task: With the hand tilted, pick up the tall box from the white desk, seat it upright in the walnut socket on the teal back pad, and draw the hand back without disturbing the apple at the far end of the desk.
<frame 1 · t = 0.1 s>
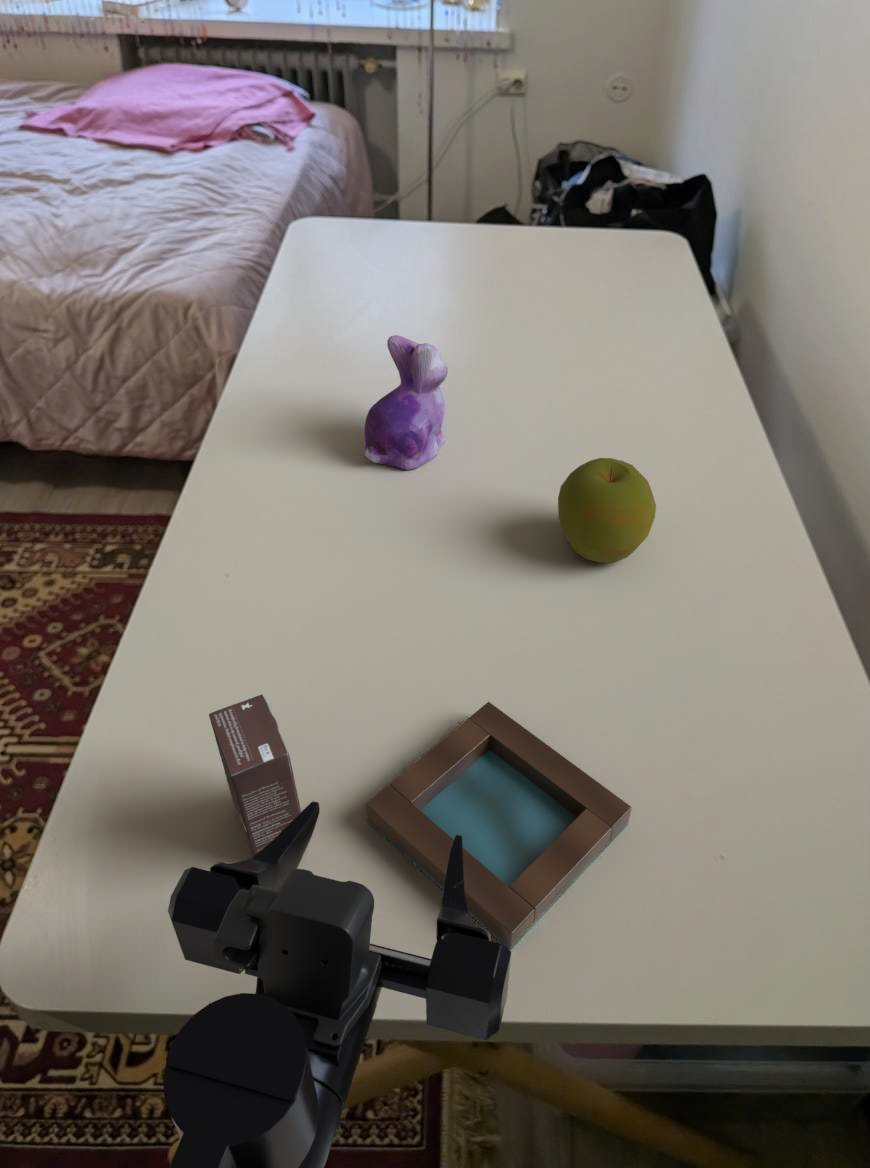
hand: (386, 821, 59), 14 cm above the table, tool horizontal, fingers open, 9 cm apart
box: (269, 829, 74), on the table
apple: (600, 548, 101), on the table
socket: (497, 822, 75), on the table
figurine: (407, 448, 114), on the table
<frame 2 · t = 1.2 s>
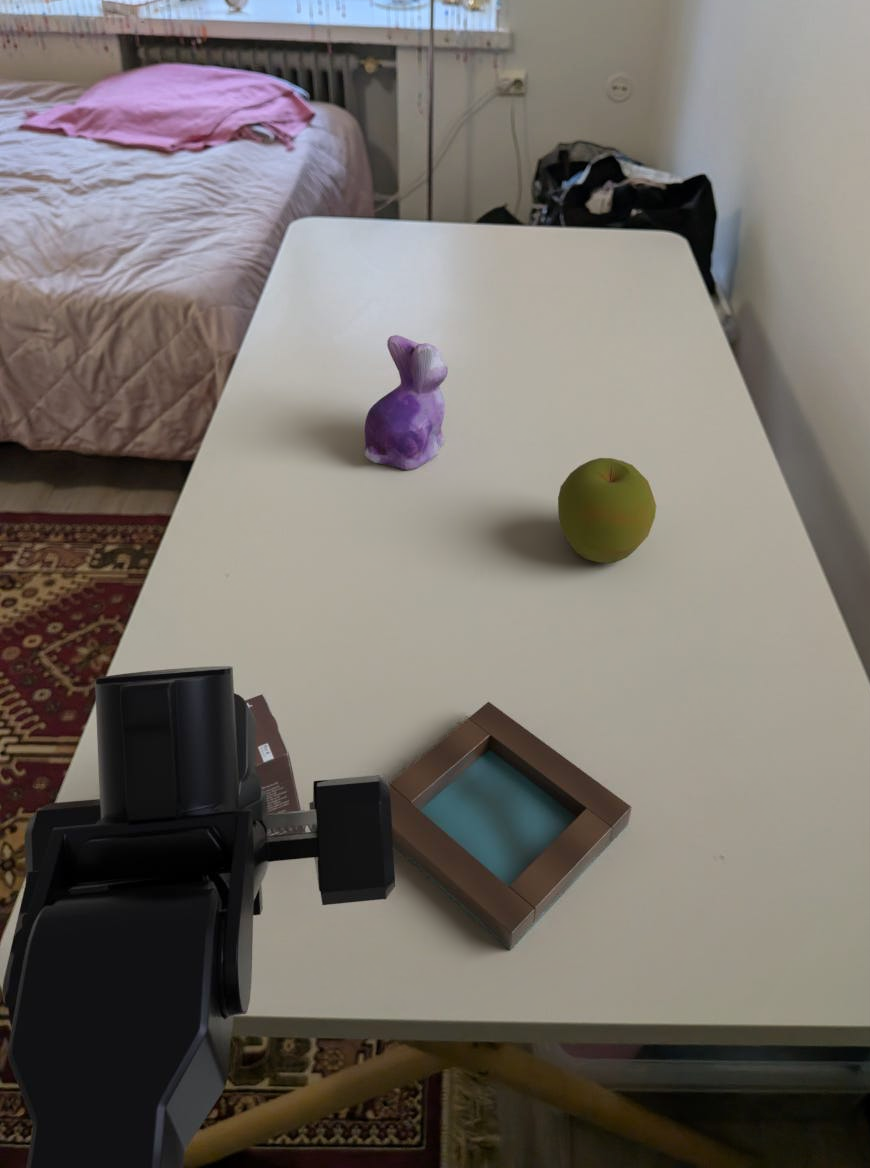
hand: (239, 816, 59), 14 cm above the table, tool tilted 45°, fingers open, 9 cm apart
nothing on the table moved.
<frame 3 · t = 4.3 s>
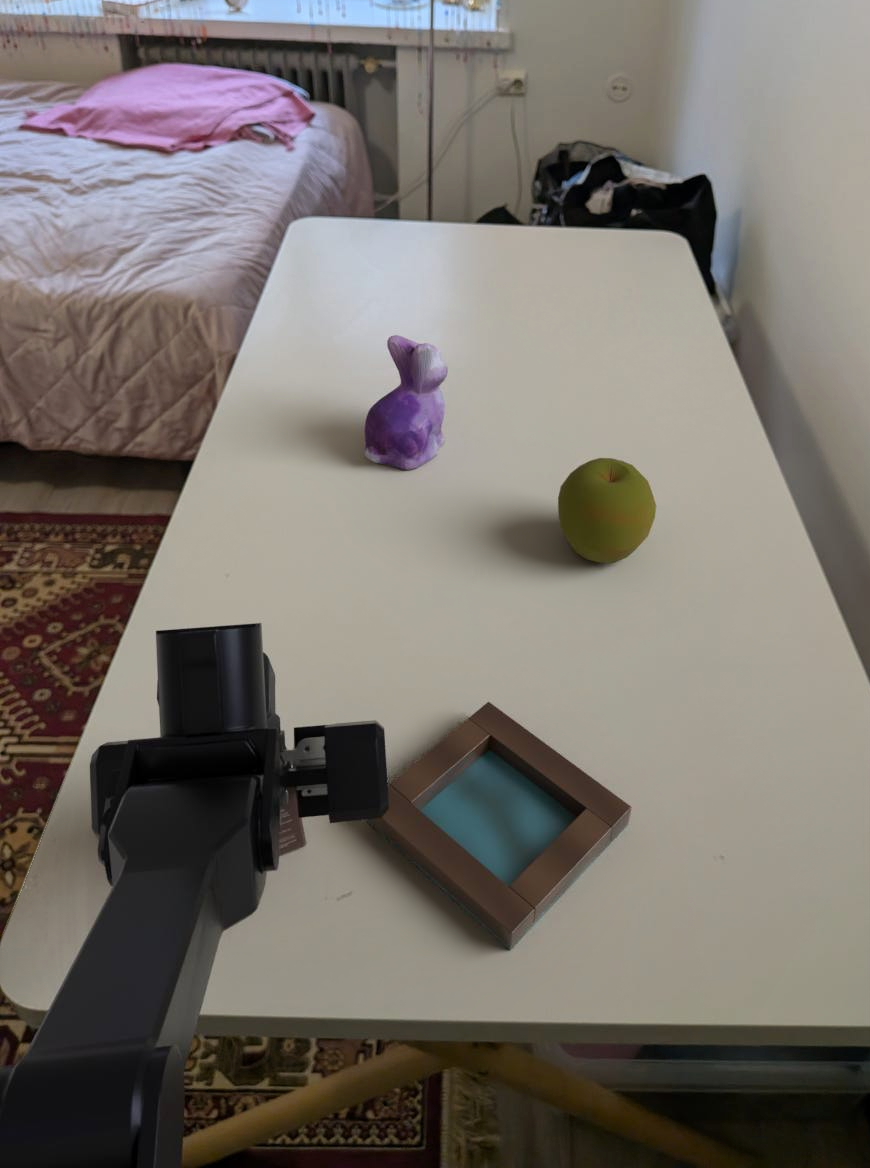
hand: (259, 761, 71), 7 cm above the table, tool tilted 45°, fingers closed on box, 5 cm apart
box: (269, 828, 74), on the table, touching gripper
everything else where it was.
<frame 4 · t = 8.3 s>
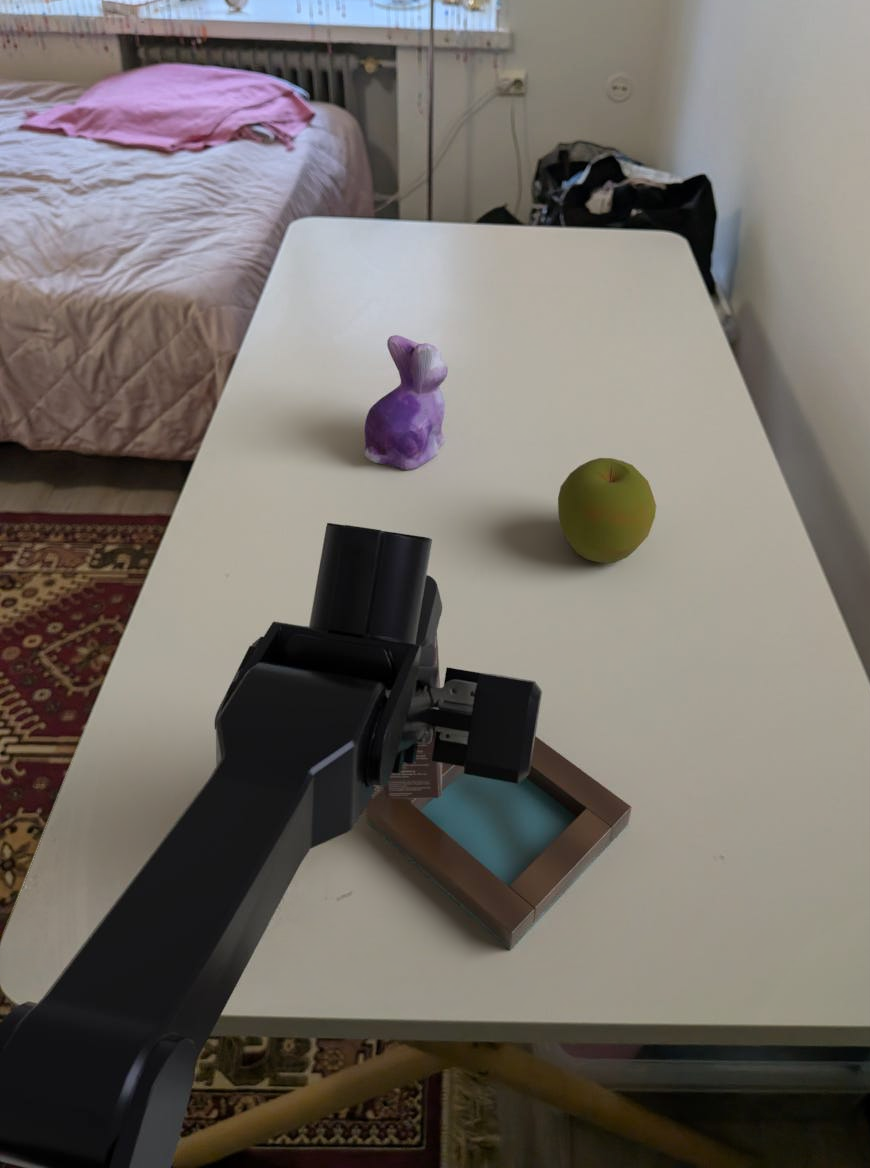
hand: (413, 698, 69), 12 cm above the table, tool tilted 45°, fingers closed on box, 5 cm apart
box: (412, 769, 72), point 5 cm above the table, touching gripper
everything else where it was.
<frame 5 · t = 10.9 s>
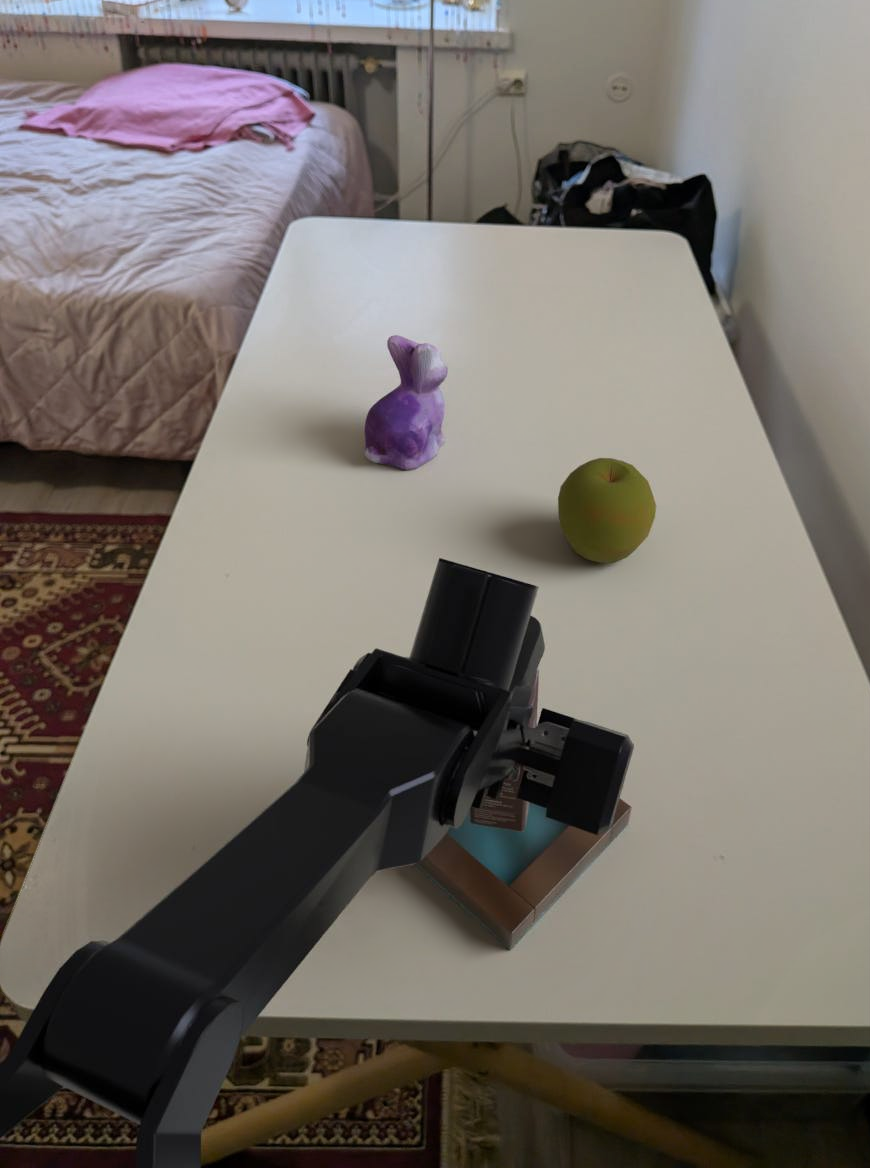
hand: (508, 731, 69), 10 cm above the table, tool tilted 45°, fingers closed on box, 5 cm apart
box: (500, 798, 73), point 3 cm above the table, touching gripper
everything else where it was.
when the fingers open (7 cm above the table, at t = 12.7 s): box stays where it is, resting on socket.
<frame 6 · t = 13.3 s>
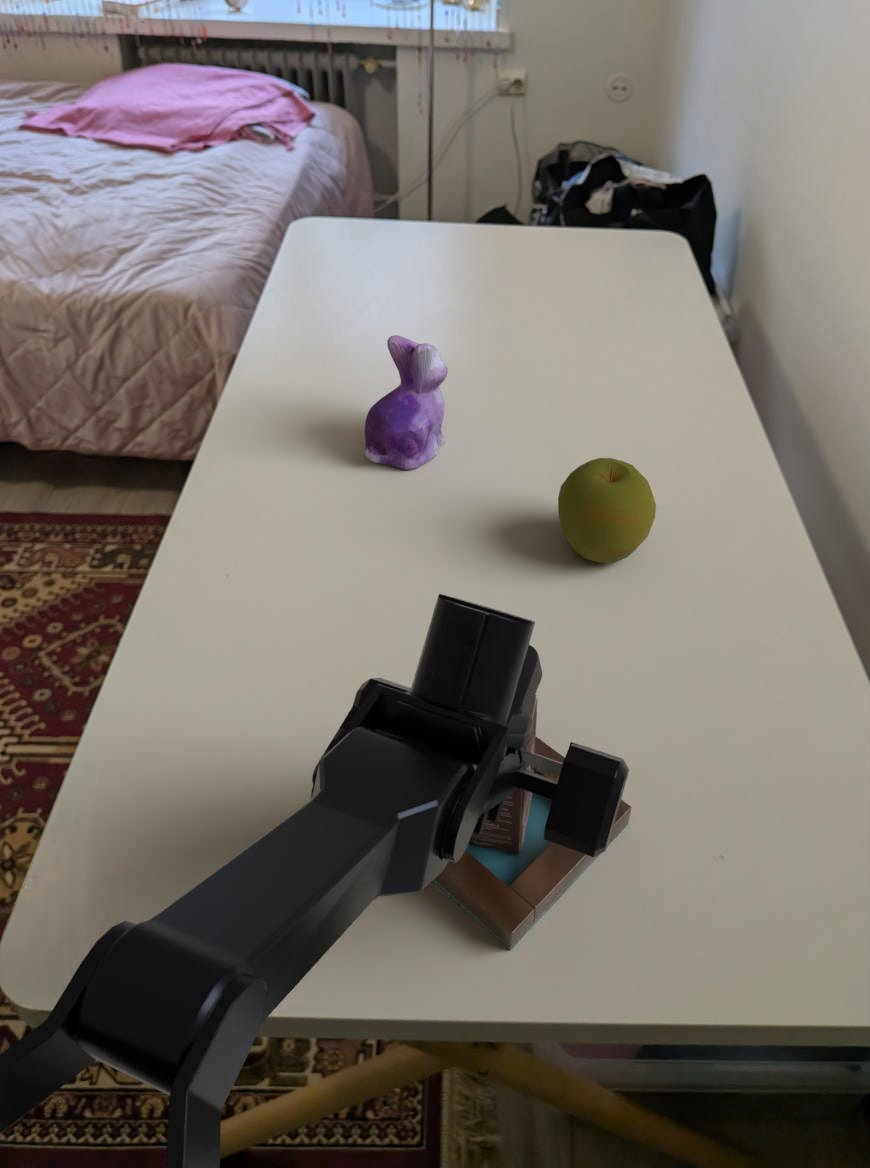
hand: (508, 750, 71), 7 cm above the table, tool tilted 45°, fingers open, 9 cm apart
box: (499, 819, 75), resting on socket
everything else where it was.
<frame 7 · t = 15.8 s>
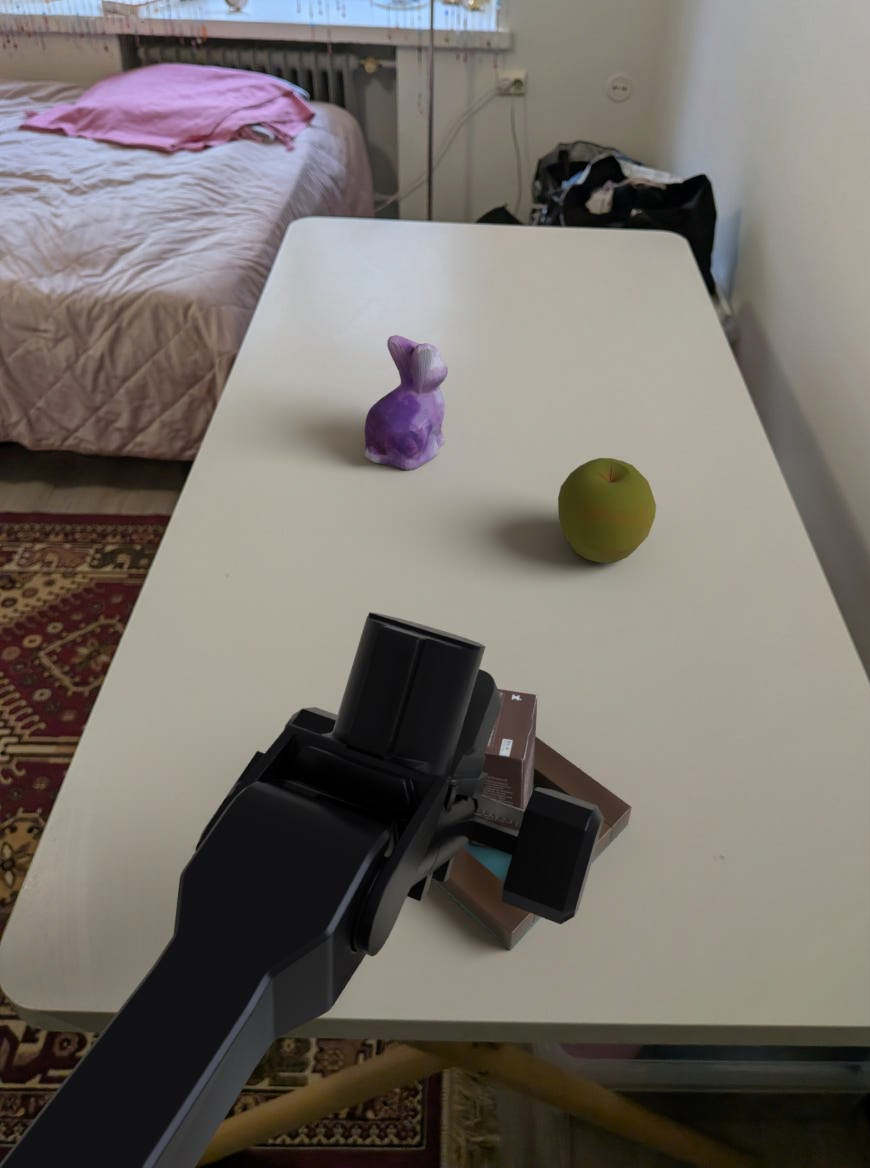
hand: (467, 789, 62), 13 cm above the table, tool tilted 45°, fingers open, 9 cm apart
nothing on the table moved.
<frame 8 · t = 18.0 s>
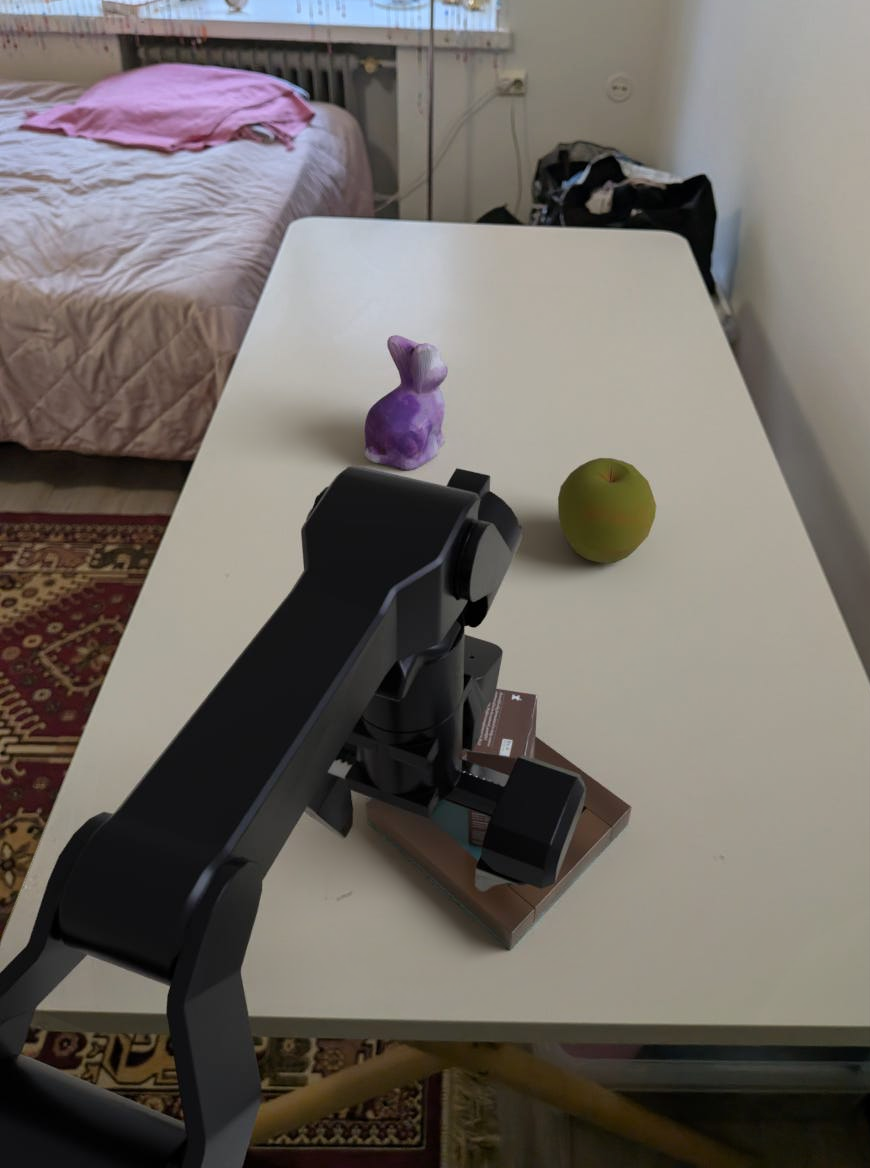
hand: (413, 857, 58), 13 cm above the table, tool pointing down, fingers open, 9 cm apart
nothing on the table moved.
at the end: box 0.2 cm off-centre on the socket, point 0.2 cm above the socket's base; box tilted 0°; apple moved 0.2 cm from its start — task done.
